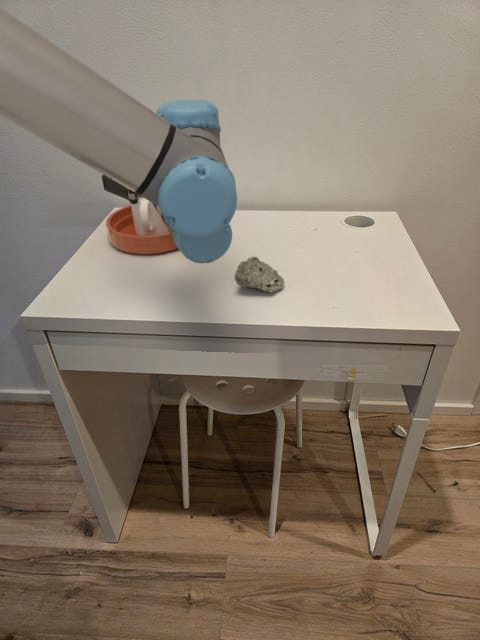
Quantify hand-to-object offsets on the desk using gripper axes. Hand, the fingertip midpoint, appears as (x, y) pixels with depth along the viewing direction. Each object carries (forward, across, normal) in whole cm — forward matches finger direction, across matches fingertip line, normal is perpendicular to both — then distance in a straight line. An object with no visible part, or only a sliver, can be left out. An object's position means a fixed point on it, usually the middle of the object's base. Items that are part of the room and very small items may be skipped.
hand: (151, 163), depth 84 cm
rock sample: (-20, +15, -20) cm, 32 cm away
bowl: (+10, 0, -20) cm, 22 cm away
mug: (+10, 0, -19) cm, 21 cm away
